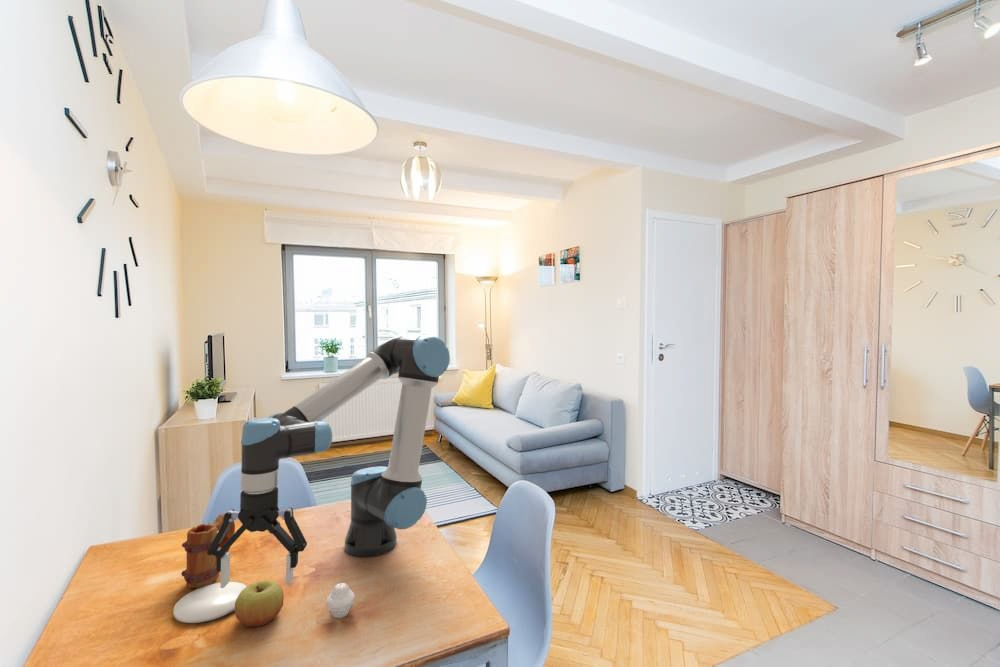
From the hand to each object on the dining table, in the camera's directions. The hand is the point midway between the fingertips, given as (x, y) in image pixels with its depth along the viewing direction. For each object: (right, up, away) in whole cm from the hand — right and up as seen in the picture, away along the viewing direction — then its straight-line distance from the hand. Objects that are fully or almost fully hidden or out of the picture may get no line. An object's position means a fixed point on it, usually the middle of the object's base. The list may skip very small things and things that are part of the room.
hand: (257, 583), depth 103 cm
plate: (-14, -8, +5) cm, 17 cm away
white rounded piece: (+18, -9, +3) cm, 20 cm away
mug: (-21, -8, +17) cm, 29 cm away
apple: (0, -9, 0) cm, 9 cm away
